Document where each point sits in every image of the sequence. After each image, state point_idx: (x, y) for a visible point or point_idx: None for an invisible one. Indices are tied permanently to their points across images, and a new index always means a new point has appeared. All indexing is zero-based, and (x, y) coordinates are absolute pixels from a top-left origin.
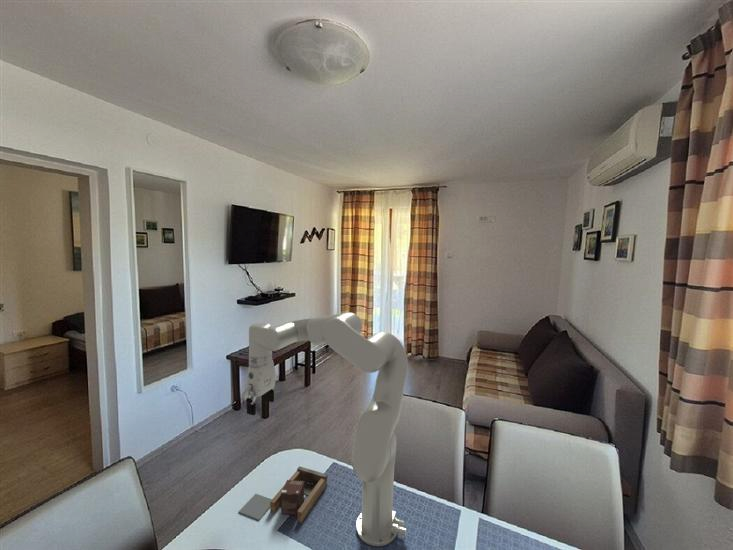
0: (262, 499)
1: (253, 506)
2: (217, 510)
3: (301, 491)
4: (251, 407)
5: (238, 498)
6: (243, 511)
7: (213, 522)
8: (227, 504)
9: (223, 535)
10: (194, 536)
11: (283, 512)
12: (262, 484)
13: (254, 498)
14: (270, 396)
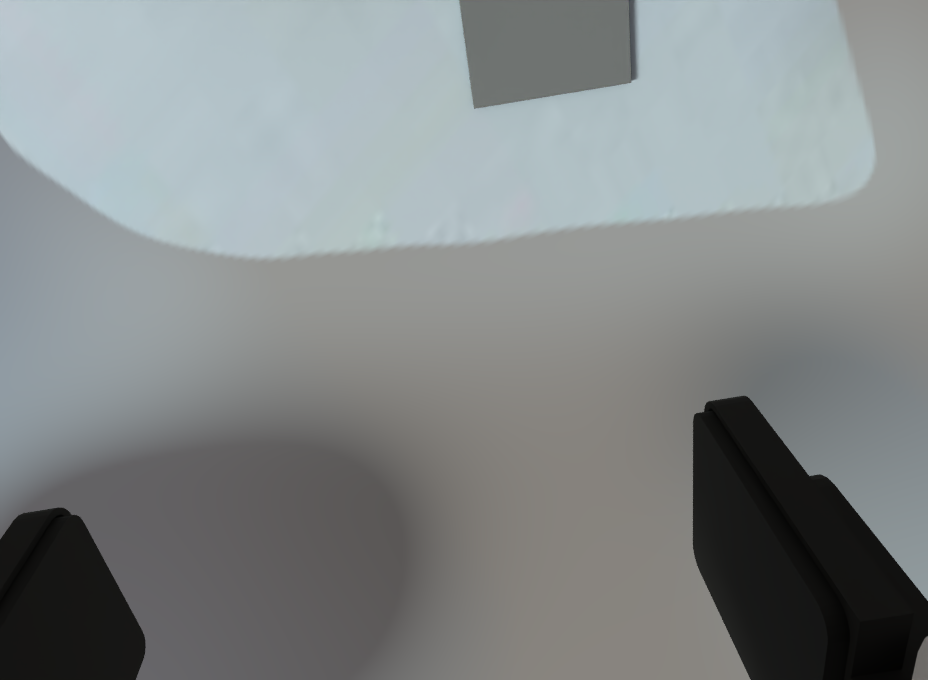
0: (488, 21)
1: (560, 29)
2: (664, 206)
3: None
4: (891, 574)
5: (547, 177)
6: (617, 55)
7: (734, 152)
8: (609, 194)
9: (784, 20)
10: (835, 160)
11: None
12: (385, 139)
13: (509, 79)
14: (38, 665)
